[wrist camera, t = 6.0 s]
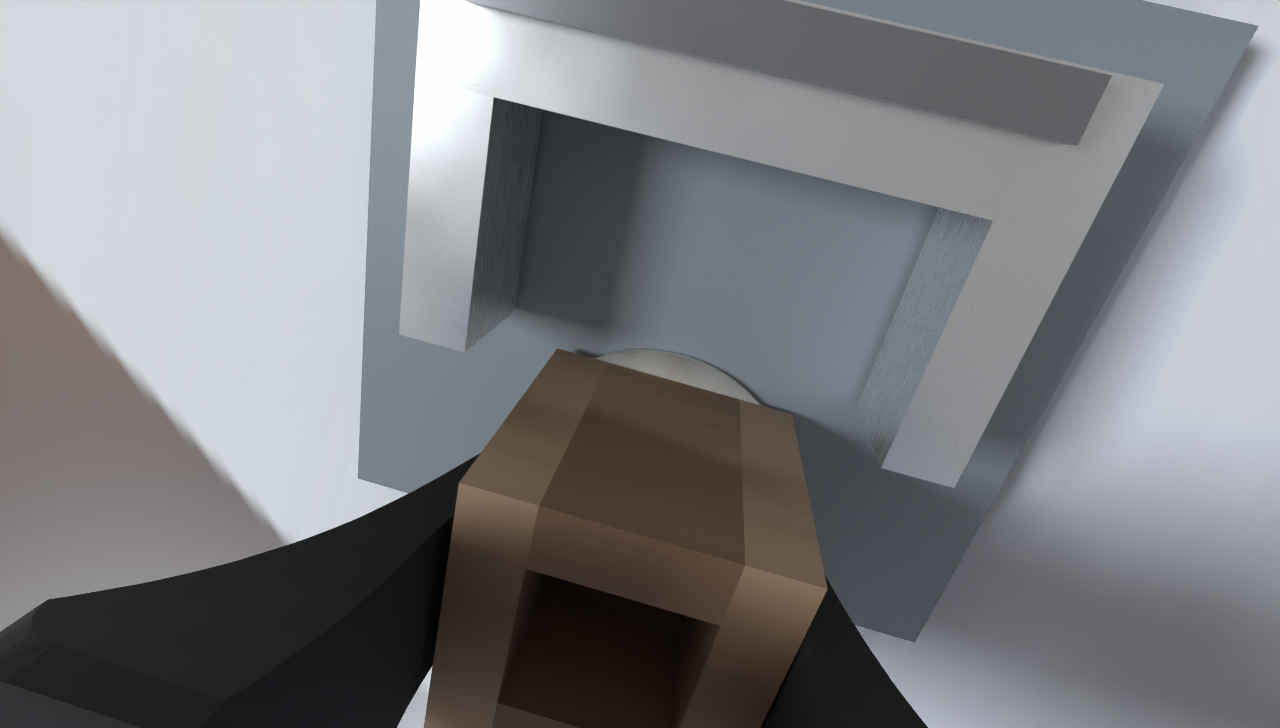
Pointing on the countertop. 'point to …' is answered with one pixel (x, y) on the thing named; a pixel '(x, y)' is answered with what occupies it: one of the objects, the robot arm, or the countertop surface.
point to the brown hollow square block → (626, 560)
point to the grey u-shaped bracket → (789, 139)
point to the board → (767, 283)
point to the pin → (680, 370)
